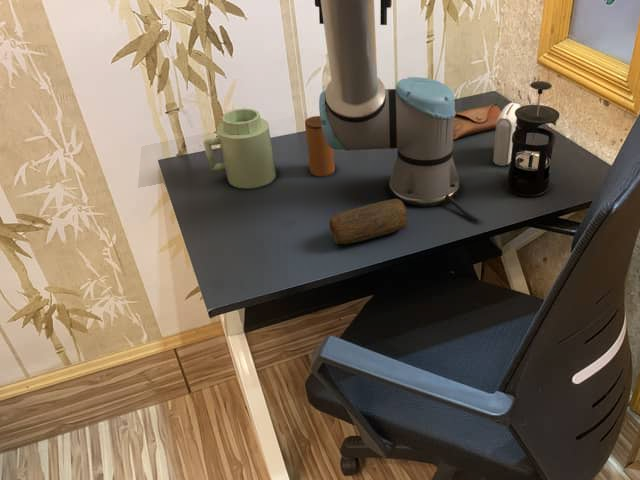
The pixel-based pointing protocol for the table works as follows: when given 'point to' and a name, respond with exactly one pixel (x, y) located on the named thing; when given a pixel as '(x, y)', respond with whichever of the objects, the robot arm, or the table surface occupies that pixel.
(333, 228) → the brown wooden cylinder
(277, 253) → the table surface
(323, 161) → the brown cylindrical canister
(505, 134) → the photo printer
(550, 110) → the french press
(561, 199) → the table surface
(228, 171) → the jug
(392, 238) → the table surface
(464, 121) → the sunglasses case
